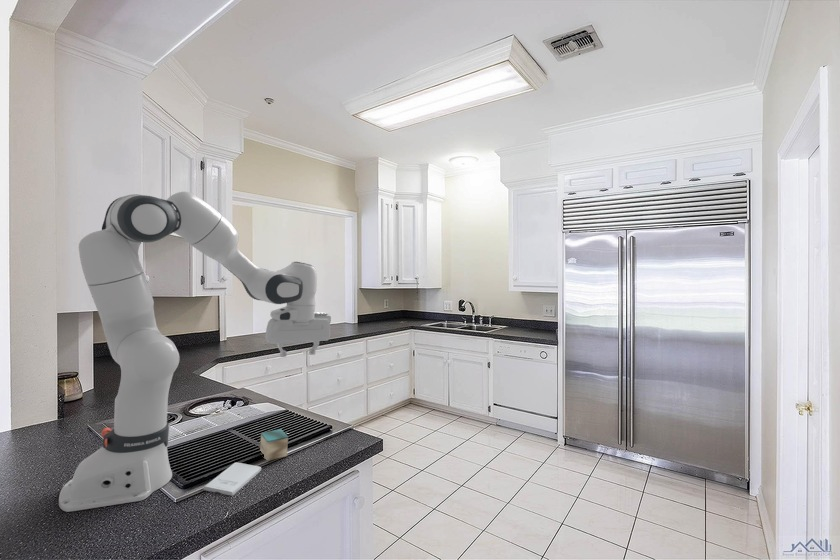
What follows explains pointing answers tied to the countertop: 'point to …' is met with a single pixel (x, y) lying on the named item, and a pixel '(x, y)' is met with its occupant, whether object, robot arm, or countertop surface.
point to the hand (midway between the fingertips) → (297, 355)
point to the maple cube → (274, 444)
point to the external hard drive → (233, 478)
